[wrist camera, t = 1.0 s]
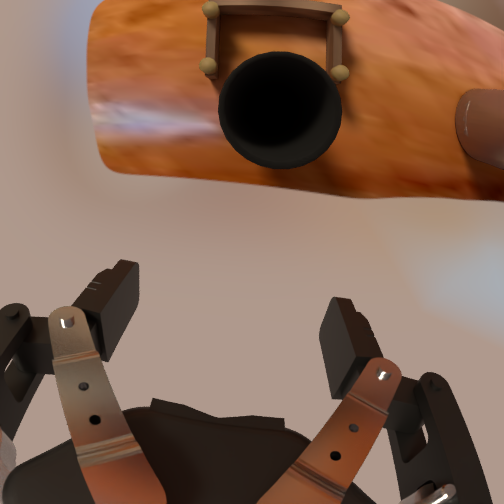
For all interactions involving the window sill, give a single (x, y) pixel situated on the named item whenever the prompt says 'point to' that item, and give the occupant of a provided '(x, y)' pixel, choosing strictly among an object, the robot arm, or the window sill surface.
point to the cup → (280, 110)
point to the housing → (279, 4)
